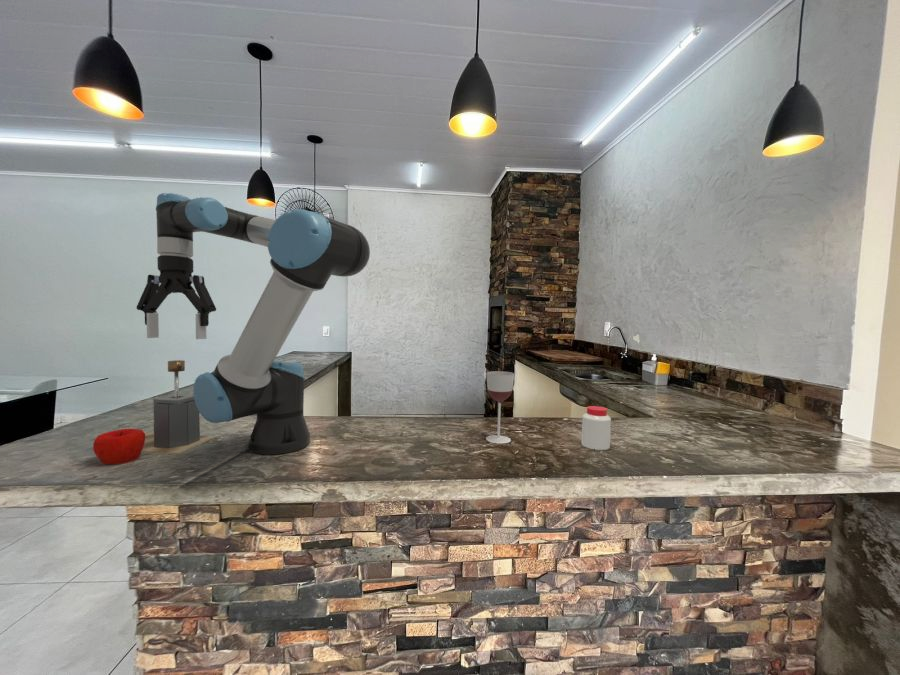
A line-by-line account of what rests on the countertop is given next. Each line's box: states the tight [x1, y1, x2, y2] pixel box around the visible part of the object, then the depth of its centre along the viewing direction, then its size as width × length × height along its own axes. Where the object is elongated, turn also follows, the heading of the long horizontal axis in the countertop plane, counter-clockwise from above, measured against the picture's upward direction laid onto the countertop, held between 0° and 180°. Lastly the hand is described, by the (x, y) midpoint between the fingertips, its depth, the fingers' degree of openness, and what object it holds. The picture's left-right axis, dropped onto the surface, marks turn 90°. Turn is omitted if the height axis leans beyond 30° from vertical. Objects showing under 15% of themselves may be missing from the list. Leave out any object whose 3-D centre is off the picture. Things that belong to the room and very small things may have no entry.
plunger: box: [167, 359, 186, 398], centre depth 98 cm, size 7×7×20 cm
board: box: [142, 432, 216, 454], centre depth 98 cm, size 22×13×1 cm, turn 85°
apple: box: [92, 428, 146, 465], centre depth 86 cm, size 9×9×8 cm
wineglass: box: [485, 370, 515, 444], centre depth 111 cm, size 8×9×20 cm
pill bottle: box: [580, 405, 612, 451], centre depth 108 cm, size 8×8×11 cm
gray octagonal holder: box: [152, 393, 201, 448], centre depth 99 cm, size 10×12×12 cm
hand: (176, 338), depth 97 cm, fingers open, 13 cm apart
